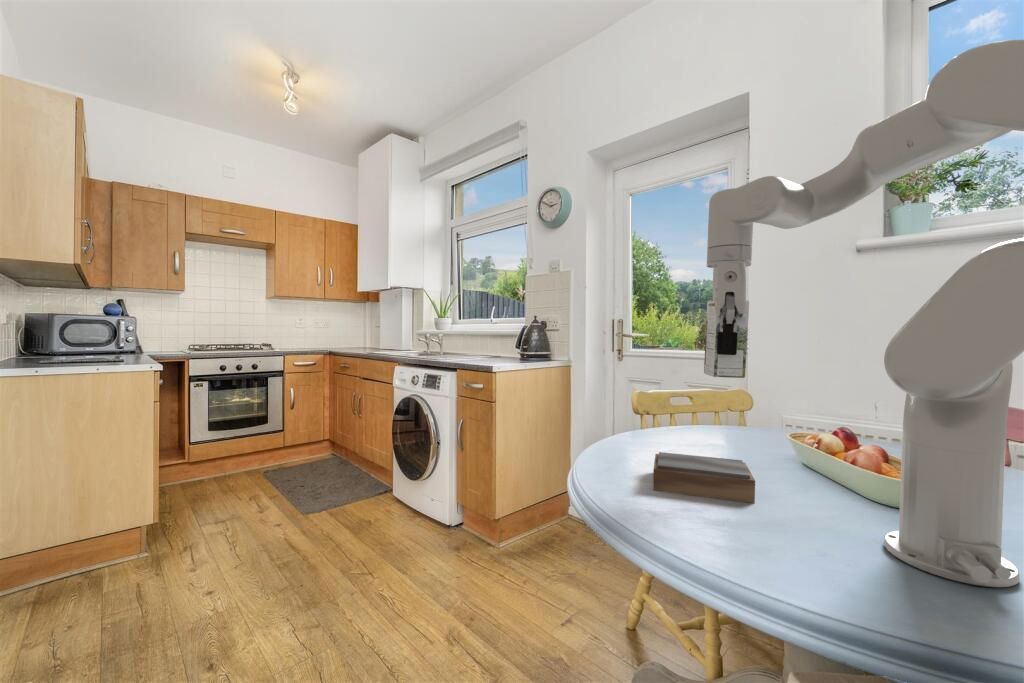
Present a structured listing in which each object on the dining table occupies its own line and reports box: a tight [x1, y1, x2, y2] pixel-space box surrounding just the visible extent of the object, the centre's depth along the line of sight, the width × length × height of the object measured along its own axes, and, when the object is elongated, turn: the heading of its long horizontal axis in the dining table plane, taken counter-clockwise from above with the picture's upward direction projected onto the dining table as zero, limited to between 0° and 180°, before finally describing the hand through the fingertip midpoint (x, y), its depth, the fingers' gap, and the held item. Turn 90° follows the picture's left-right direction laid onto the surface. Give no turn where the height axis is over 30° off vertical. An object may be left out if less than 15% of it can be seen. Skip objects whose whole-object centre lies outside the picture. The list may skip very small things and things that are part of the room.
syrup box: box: [703, 299, 750, 379], centre depth 82 cm, size 6×6×14 cm
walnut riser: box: [652, 451, 756, 504], centre depth 84 cm, size 11×17×5 cm, turn 70°
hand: (724, 352), depth 82 cm, fingers closed on syrup box, 6 cm apart
